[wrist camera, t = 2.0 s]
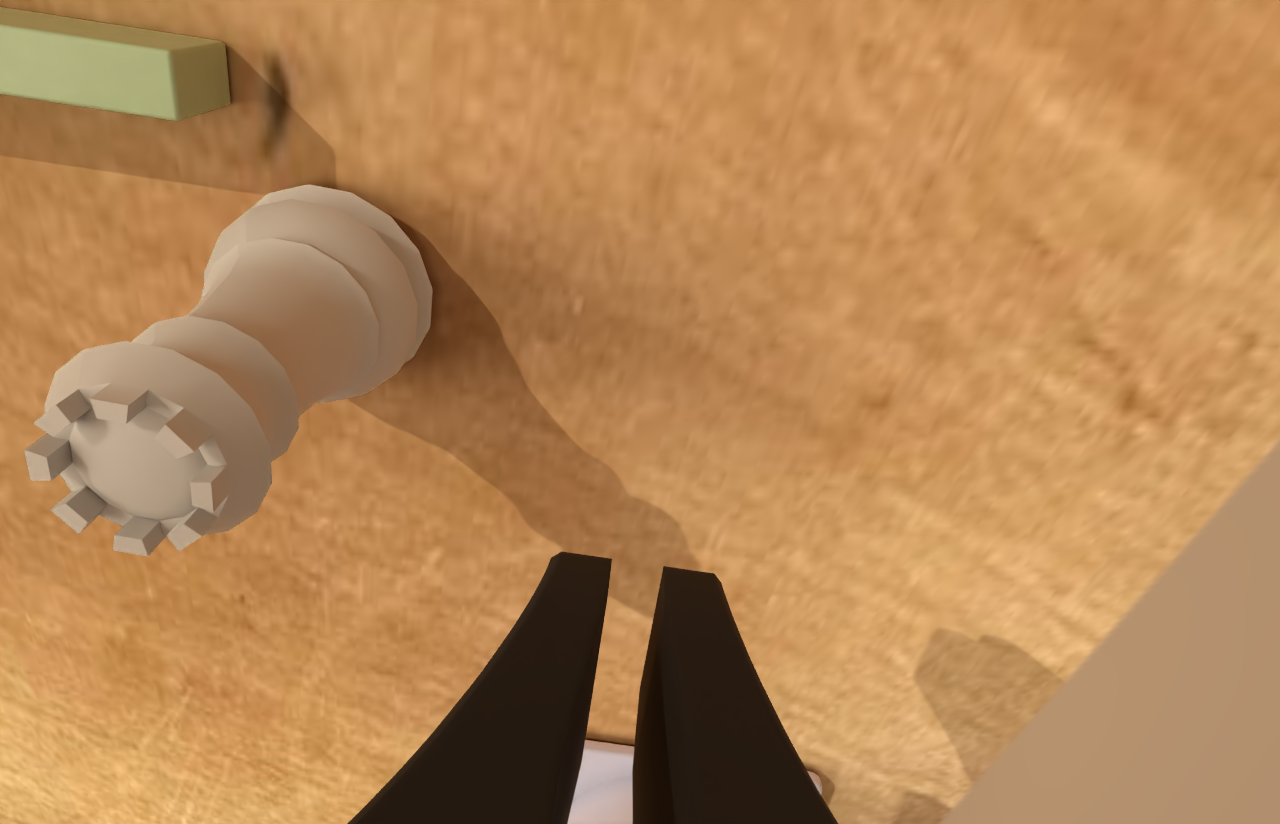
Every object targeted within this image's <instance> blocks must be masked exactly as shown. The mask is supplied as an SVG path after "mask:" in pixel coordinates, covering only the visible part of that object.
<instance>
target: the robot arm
mask: <svg viewBox="0 0 1280 824" xmlns="http://www.w3.org/2000/svg"><path fill="white" fill-rule="evenodd" d="M611 562H612V559H609V558H602V557H595V556H588V555H581V554H574V553H567V552H560V553H559V554H557V555H555V556H554V557H552V558H551V560H550V562H549V565H548V567H547V570H546V572H545V574H544V576H543V578H542V580H541V582H540V584H539V586H538V587H537V589H536V591H535V593H534V595H533V596H532V598H531V600H530V601H529V603H528V605H527V606H526V608H525V609H524V611H523V613H522V614H521V616H520V617H519V619H518V621H517V622H516V624H515V625H514V627H513V628H512V630H511V631H510V633H509V634H508V635H507V637H506V638H505V640H504V641H503V643H502V644H501V645H500V647H499V648H498V650H497V651H496V652H495V654H494V655H493V657H492V658H491V660H490V661H489V662H488V664H487V665H486V667H485V668H484V669H483V671H482V672H481V673H480V675H479V676H478V677H477V679H476V680H475V681H474V683H473V684H472V685H471V686H470V688H469V689H468V690H467V691H466V693H465V694H464V695H463V696H462V698H461V699H460V700H459V701H458V702H457V704H456V705H455V706H454V707H453V709H452V710H451V711H450V712H449V714H448V715H447V716H446V717H445V718H444V720H443V721H442V722H441V723H440V725H439V726H438V727H437V728H436V730H435V731H434V732H433V733H432V734H431V735H430V737H429V738H428V739H427V740H426V741H425V742H424V743H423V745H422V746H421V747H420V748H419V749H418V750H417V751H416V753H415V754H414V755H413V756H412V757H411V758H410V759H409V760H408V761H407V763H406V764H405V765H404V766H403V767H402V768H401V769H400V770H399V771H398V772H397V773H396V775H395V776H394V777H393V778H392V779H391V780H390V781H389V782H388V783H387V784H386V785H385V786H384V787H383V788H382V789H381V790H380V791H379V792H378V793H377V794H376V795H375V797H374V798H373V799H372V800H371V801H370V802H369V803H368V804H367V805H366V806H365V807H364V808H363V809H362V810H361V811H360V812H359V813H358V814H357V815H356V816H355V817H354V818H353V819H352V820H351V821H350V822H349V823H348V824H838V823H837V821H836V819H835V818H834V816H833V815H832V813H831V811H830V810H829V808H828V806H827V805H826V803H825V801H824V800H823V798H822V796H821V795H822V784H821V779H820V778H819V776H818V775H816V774H815V773H813V772H810V771H807V770H806V768H805V766H804V765H803V763H802V761H801V759H800V758H799V756H798V754H797V752H796V750H795V748H794V747H793V745H792V743H791V741H790V739H789V737H788V735H787V733H786V732H785V730H784V728H783V726H782V724H781V722H780V720H779V718H778V716H777V714H776V712H775V710H774V708H773V706H772V703H771V701H770V699H769V697H768V695H767V693H766V691H765V689H764V687H763V685H762V683H761V681H760V679H759V677H758V675H757V672H756V670H755V668H754V666H753V664H752V661H751V659H750V657H749V655H748V652H747V650H746V647H745V645H744V643H743V640H742V638H741V636H740V633H739V631H738V628H737V626H736V623H735V621H734V618H733V616H732V613H731V610H730V608H729V605H728V602H727V599H726V596H725V593H724V590H723V587H722V584H721V582H720V581H719V579H718V578H717V577H716V575H715V574H713V573H706V572H699V571H692V570H685V569H678V568H671V567H665V566H664V567H663V573H662V578H661V583H660V588H659V593H658V598H657V603H656V609H655V614H654V619H653V624H652V629H651V634H650V639H649V645H648V650H647V655H646V660H645V665H644V670H643V676H642V681H641V686H640V693H639V704H638V714H637V725H636V735H635V746H627V745H619V744H612V743H605V742H598V741H591V740H585V737H586V731H587V724H588V718H589V712H590V705H591V699H592V693H593V686H594V680H595V673H596V667H597V661H598V654H599V648H600V642H601V635H602V629H603V622H604V616H605V610H606V603H607V596H608V588H609V579H610V571H611Z"/></svg>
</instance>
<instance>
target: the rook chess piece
mask: <svg viewBox="0 0 1280 824" xmlns="http://www.w3.org/2000/svg"><path fill="white" fill-rule="evenodd" d="M204 284H205V286H204V288H203V291H202V299H201V300H200V301H199V303H198V304H197V305H196V306H195V307H194V308H193V309H192V310H191V312H190V313H189V314H188V315H187V316H182V317H177V318H173V319H168V320H163V321H158V322H155V323H154V324H152V325H151V326H150V327H149V328H147V329H146V330H145V331H144V332H142V333H141V334H140V335H139V336H137V337H136V338H135V339H134V340H133V341H132V342H128V341H122V342H117V343H112V344H107V345H102V346H97V347H92V348H87V349H83V350H82V351H81V352H80V353H78V354H77V355H76V356H75V357H74V358H72V359H71V360H70V361H69V362H67V363H66V364H65V365H64V366H63V367H61V368H60V369H59V370H58V371H57V372H55V375H54V378H53V381H52V384H51V387H50V390H49V393H48V397H47V400H46V403H45V406H44V407H45V414H44V415H43V416H41V417H40V418H39V419H38V420H36V421H35V422H34V423H33V424H35V425H36V426H38V427H39V428H41V429H42V430H44V431H45V432H47V434H45V435H44V436H43V437H41V438H40V439H39V440H37V441H36V442H35V443H33V444H32V445H30V446H29V447H28V448H26V449H25V450H24V451H25V456H26V461H27V466H28V470H29V475H30V480H31V481H51V480H53V479H54V478H55V477H56V476H58V475H59V474H61V476H62V478H63V479H64V481H65V482H66V484H67V485H68V487H69V489H70V490H71V492H70V493H69V494H68V495H67V496H66V497H64V498H63V499H62V500H61V501H60V502H59V503H57V504H56V505H55V506H54V507H53V508H52V509H50V510H51V511H52V512H53V513H54V514H55V515H57V516H58V517H59V518H60V519H61V520H62V521H64V522H65V523H66V524H67V525H68V526H70V527H71V528H72V529H73V530H74V531H76V532H77V533H78V534H80V533H81V532H82V531H83V530H84V529H85V528H86V527H87V526H88V525H89V524H90V523H91V522H92V521H93V520H95V519H96V518H97V517H98V516H102V517H104V518H106V519H108V520H110V521H112V522H114V523H116V524H118V525H120V526H122V528H121V529H120V530H119V531H118V532H117V533H116V534H115V537H114V546H113V550H114V551H120V552H126V553H132V554H137V555H143V556H149V555H150V554H151V552H152V551H153V550H154V549H155V548H156V547H157V546H158V545H159V544H160V543H161V541H162V540H163V539H164V538H165V537H167V538H168V539H169V540H170V541H171V543H172V544H173V545H174V546H175V547H176V548H177V550H178V551H180V550H182V549H183V548H185V547H187V546H188V545H190V544H191V543H193V542H194V541H196V540H197V539H199V538H200V537H202V536H203V535H205V534H212V533H218V532H224V531H229V530H230V529H232V528H233V527H235V526H237V525H238V524H240V523H241V522H243V521H244V520H246V519H247V518H249V517H250V516H252V515H253V514H255V513H256V512H257V511H258V509H259V507H260V505H261V503H262V501H263V499H264V497H265V495H266V493H267V491H268V489H269V487H270V485H271V483H272V475H271V462H272V461H273V460H275V459H276V458H278V457H279V456H281V455H282V454H284V453H285V452H286V451H287V449H288V447H289V445H290V443H291V441H292V439H293V437H294V435H295V433H296V431H297V430H298V417H299V416H300V415H301V414H302V413H304V412H305V411H306V410H308V409H309V408H310V407H312V406H313V405H314V404H316V403H320V402H331V401H336V400H342V399H347V398H353V397H358V396H362V395H364V394H367V393H369V392H371V391H372V390H374V389H375V388H376V387H378V386H379V385H381V384H382V383H384V382H385V381H387V380H388V379H390V378H391V377H393V376H394V375H396V374H397V373H399V371H400V369H401V367H402V366H403V364H404V363H406V362H407V361H409V360H410V359H412V358H413V357H414V355H415V353H416V352H417V350H418V348H419V346H420V345H421V343H422V341H423V339H424V337H425V336H426V334H427V332H428V330H429V329H430V325H431V309H432V293H433V289H432V286H431V283H430V281H429V278H428V275H427V272H426V269H425V266H424V263H423V260H422V258H421V255H420V252H419V250H418V249H417V248H416V246H415V245H414V244H413V243H412V241H411V240H410V239H409V238H408V237H407V235H406V234H405V233H404V232H403V231H402V229H401V228H400V227H399V226H398V225H397V223H396V222H395V221H394V220H393V218H392V217H391V216H390V215H388V214H386V213H385V212H383V211H381V210H380V209H378V208H376V207H375V206H373V205H371V204H370V203H368V202H366V201H365V200H363V199H361V198H360V197H358V196H356V195H355V194H353V193H351V192H346V191H341V190H336V189H330V188H325V187H320V186H315V185H309V184H307V185H303V186H298V187H294V188H289V189H285V190H280V191H276V192H271V193H268V194H267V195H266V196H265V197H263V198H262V199H261V200H260V201H259V202H257V203H256V204H255V205H254V206H252V207H251V208H250V209H248V210H247V211H246V212H245V213H244V214H242V215H241V216H240V217H239V218H238V219H236V220H235V221H234V222H233V223H231V224H230V225H229V226H228V227H227V228H225V229H224V230H223V231H222V232H221V234H220V236H219V238H218V240H217V242H216V245H215V247H214V250H213V252H212V255H211V257H210V260H209V262H208V265H207V267H206V270H205V272H204Z"/></svg>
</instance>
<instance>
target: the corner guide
mask: <svg viewBox="0 0 1280 824" xmlns="http://www.w3.org/2000/svg"><path fill="white" fill-rule="evenodd" d="M0 94H2V95H8V96H15V97H21V98H28V99H34V100H41V101H47V102H54V103H60V104H67V105H73V106H80V107H86V108H93V109H100V110H106V111H113V112H119V113H126V114H132V115H139V116H145V117H152V118H158V119H165V120H171V121H180V120H183V119H186V118H189V117H193V116H196V115H199V114H202V113H205V112H209V111H212V110H215V109H218V108H222V107H225V106H228V105H230V91H229V80H228V68H227V57H226V46H225V44H224V43H223V42H221V41H218V40H212V39H205V38H199V37H192V36H186V35H180V34H173V33H167V32H160V31H154V30H147V29H141V28H135V27H128V26H122V25H115V24H109V23H102V22H96V21H89V20H83V19H77V18H70V17H64V16H57V15H51V14H44V13H38V12H32V11H25V10H19V9H12V8H6V7H0Z"/></svg>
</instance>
